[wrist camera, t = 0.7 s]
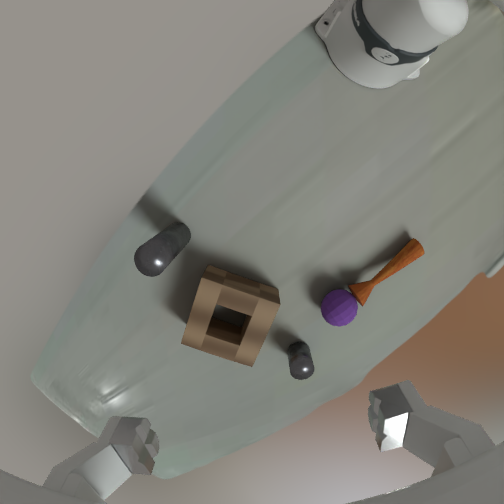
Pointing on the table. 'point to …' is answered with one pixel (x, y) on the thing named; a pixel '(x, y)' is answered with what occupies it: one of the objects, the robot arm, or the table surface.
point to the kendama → (365, 288)
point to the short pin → (300, 360)
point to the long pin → (161, 249)
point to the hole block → (236, 298)
